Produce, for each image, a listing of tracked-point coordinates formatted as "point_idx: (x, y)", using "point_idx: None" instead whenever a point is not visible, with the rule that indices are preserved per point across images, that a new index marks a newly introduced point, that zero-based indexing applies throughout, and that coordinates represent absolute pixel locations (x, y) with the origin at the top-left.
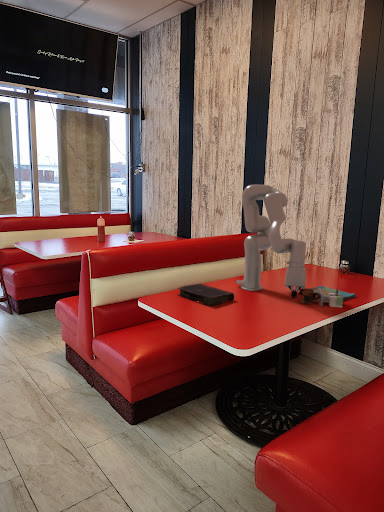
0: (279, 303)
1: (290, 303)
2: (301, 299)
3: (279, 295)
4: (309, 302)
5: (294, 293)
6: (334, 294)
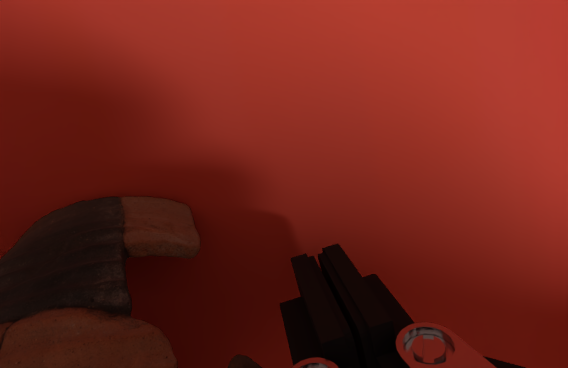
0: (477, 5)
1: (326, 103)
2: (174, 235)
3: None
4: (31, 234)
5: (338, 306)
6: None
